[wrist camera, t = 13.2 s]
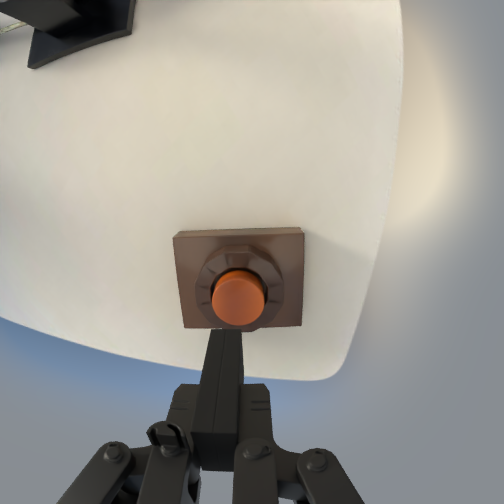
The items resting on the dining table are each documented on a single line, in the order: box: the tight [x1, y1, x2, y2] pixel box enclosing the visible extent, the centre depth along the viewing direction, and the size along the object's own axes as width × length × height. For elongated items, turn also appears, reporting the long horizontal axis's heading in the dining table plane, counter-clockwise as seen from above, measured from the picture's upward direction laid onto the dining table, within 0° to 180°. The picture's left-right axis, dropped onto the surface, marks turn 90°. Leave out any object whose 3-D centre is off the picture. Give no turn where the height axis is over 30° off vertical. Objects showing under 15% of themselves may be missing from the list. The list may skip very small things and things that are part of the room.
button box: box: [173, 227, 304, 332], centre depth 23 cm, size 10×8×4 cm
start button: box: [212, 270, 264, 325], centre depth 21 cm, size 4×4×2 cm
